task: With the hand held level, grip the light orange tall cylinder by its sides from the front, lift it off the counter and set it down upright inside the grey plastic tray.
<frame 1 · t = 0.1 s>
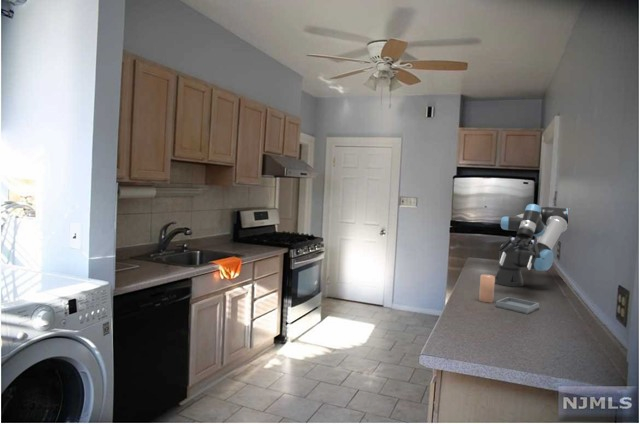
hand: (514, 266, 222), 15 cm above the counter, fingers open, 13 cm apart
grey tray: (517, 307, 200), on the counter
light orange tall cylinder: (486, 300, 211), on the counter
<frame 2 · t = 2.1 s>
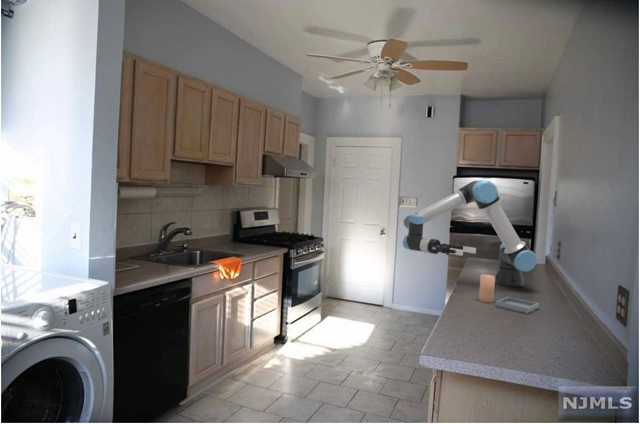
hand: (469, 251, 216), 22 cm above the counter, fingers open, 13 cm apart
nothing on the counter moved.
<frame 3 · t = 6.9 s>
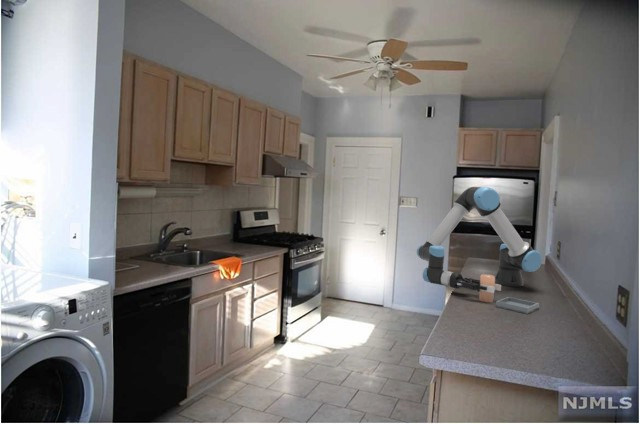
hand: (497, 289, 207), 7 cm above the counter, fingers closed on light orange tall cylinder, 6 cm apart
light orange tall cylinder: (485, 300, 210), on the counter, touching gripper
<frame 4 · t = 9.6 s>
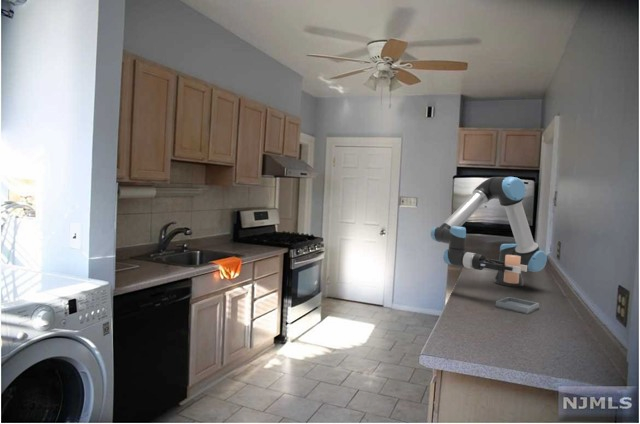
hand: (523, 269, 197), 18 cm above the counter, fingers closed on light orange tall cylinder, 6 cm apart
light orange tall cylinder: (511, 281, 201), point 11 cm above the counter, touching gripper
when the fingers open (9 cm above the counter, at t = 12.5 s): light orange tall cylinder drops 1 cm, resting on grey tray.
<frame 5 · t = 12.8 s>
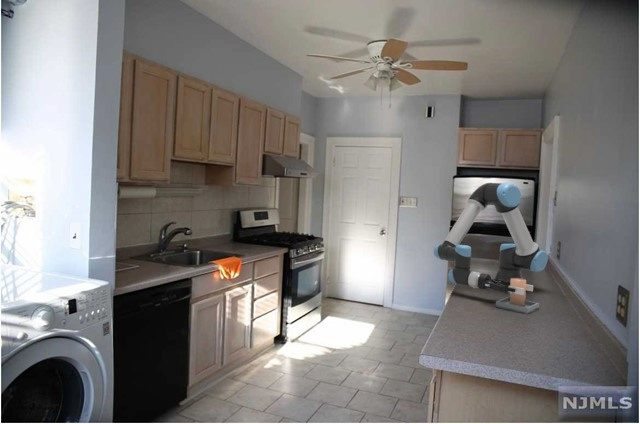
hand: (528, 290, 197), 9 cm above the counter, fingers open, 10 cm apart
light orange tall cylinder: (517, 305, 200), point 1 cm above the counter, touching grey tray
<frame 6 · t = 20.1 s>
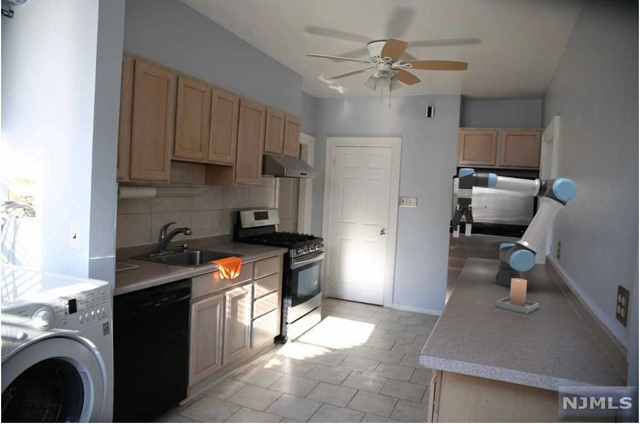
hand: (462, 236, 240), 27 cm above the counter, fingers open, 13 cm apart
nothing on the counter moved.
at the end: light orange tall cylinder inside the target area on the grey tray (0.0 cm from its centre), point 0.8 cm above the grey tray's base; light orange tall cylinder tilted 0°; the gripper is holding nothing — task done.
